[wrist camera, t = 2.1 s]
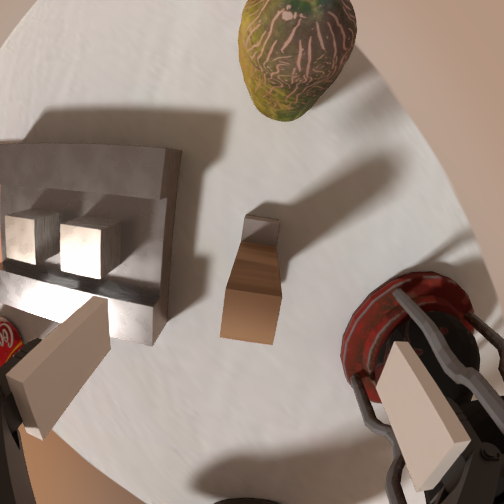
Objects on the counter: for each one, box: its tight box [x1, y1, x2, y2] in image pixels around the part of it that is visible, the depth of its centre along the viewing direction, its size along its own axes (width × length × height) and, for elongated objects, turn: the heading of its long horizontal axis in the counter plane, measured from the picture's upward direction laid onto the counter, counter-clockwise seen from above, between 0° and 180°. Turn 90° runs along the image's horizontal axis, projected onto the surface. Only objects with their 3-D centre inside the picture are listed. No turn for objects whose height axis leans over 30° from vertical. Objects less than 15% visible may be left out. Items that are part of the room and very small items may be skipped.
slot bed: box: [0, 143, 182, 346], centre depth 28 cm, size 17×20×5 cm
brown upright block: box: [220, 215, 282, 345], centre depth 24 cm, size 7×3×13 cm, turn 172°
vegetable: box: [238, 0, 357, 122], centre depth 17 cm, size 6×6×20 cm
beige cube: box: [5, 209, 59, 265], centre depth 25 cm, size 4×4×4 cm
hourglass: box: [340, 272, 504, 504], centre depth 20 cm, size 16×16×25 cm
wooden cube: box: [60, 216, 122, 279], centre depth 25 cm, size 4×4×4 cm
